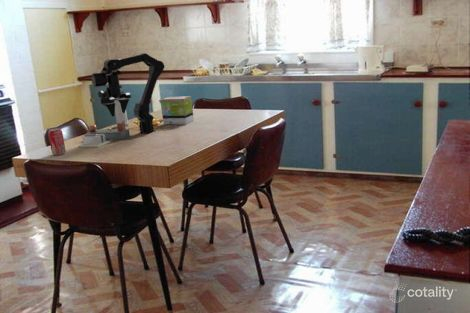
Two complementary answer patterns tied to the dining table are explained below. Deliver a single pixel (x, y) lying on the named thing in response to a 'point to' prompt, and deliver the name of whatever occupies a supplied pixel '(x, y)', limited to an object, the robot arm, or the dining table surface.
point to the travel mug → (120, 113)
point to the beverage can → (56, 141)
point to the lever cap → (93, 139)
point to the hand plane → (111, 132)
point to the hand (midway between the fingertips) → (118, 114)
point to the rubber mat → (93, 145)
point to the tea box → (177, 110)
